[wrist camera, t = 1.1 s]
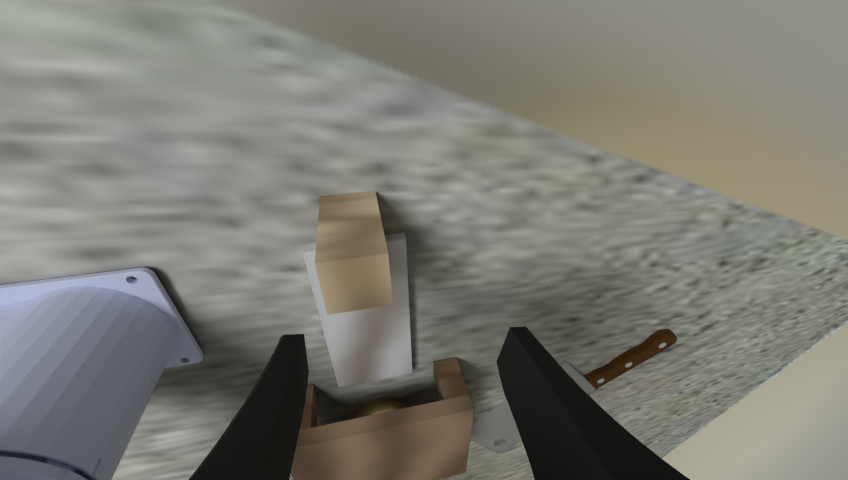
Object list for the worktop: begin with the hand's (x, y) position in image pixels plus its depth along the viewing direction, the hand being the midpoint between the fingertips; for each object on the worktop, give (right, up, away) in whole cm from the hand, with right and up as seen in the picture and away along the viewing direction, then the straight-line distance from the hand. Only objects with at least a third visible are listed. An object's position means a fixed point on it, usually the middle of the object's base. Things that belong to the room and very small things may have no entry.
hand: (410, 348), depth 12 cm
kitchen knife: (+15, -11, +25) cm, 31 cm away
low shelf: (-3, -12, +19) cm, 23 cm away
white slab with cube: (-4, 0, +12) cm, 12 cm away
